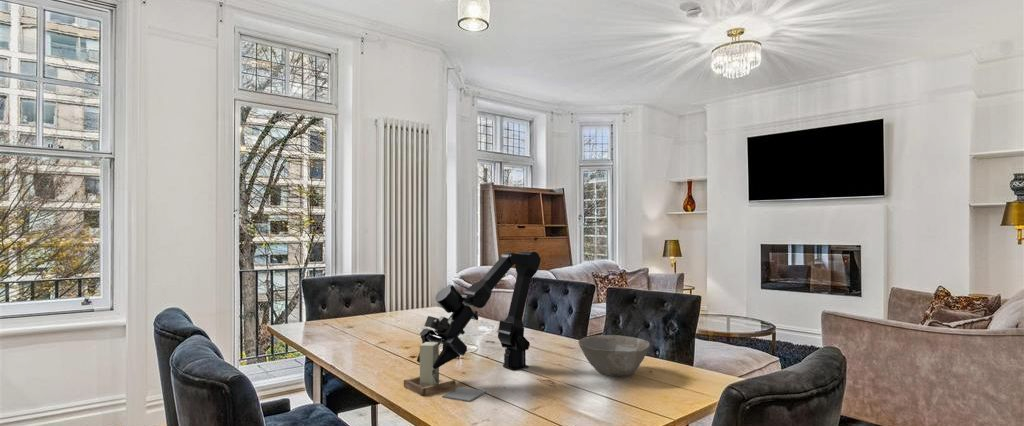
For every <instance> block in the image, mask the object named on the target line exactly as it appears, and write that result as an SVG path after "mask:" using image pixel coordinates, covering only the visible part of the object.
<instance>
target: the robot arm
mask: <svg viewBox="0 0 1024 426" xmlns="http://www.w3.org/2000/svg"><path fill="white" fill-rule="evenodd" d="M541 260H542V259H541V256H540V254H539V253H538V252H536V251H529V250H523V251H522V250H521V251H519V252H517V253H515V252H507V251H506V252H504V253H502V254H501V256H500V258H499V259H498V260H497V261H496V262H495V263H494V264H493V266H492V267H491V268H490V269H489V270H488V271H487V272H486V274H485V275H484V276H483V277H482V278H481V279H479V281H477V282H475V283H473V284H472V285H470V286H469V287H468V288H467V289H465V290H464V292H461V293H460V292H459V291H458V290H457V288H456V287H455V286H454V285H453V284H448V285H447V286H446V287H444V288H442V289H441V290H440V291H437V293H436V295H435V298H434V300H435V301H436V303H437V304H438V305H440V307H441V308H442V309H443V310H444V311H445V312H446V313H447V314H450V313H451V315H449V317H445V316H440V317H439V318H438V317H434V316H432V315H431V316H430V315H427V318H426V321H425V322H424V327H426V328H423V329H421V330H422V331H420V332H419V335H420V339H421V342H422V343H421V345H422V344H423V343H425V342H438V343H439V346H440V345H442V349H441V351H440V352H439V356H438V358H437V360H436V361H435V363H434V365H433V368H434V369H437V368H438V367H439V368H440V367H442V366H443V365H445V364H447V363H448V362H451V361H453V360H455V359H457V358H460V357H461V356H463V357H464V356H465V354H466V353H467V352H468V346H467V345H466V344H465V342H463V341H462V339H461V338H460V337H459V336H460V335H464V334H465V333H466V331H465V328H466V327H467V325H468V324H469V323H470V321H471V320H473V321H474V320H475V321H479V316H478V315H479V314H478V311H477V310H473V309H472V308H476V309H482V308H484V307H485V306H486V305H487V304H488V301H490V298H491V296H492V292H493V289H494V288H495V287H496V286H497V284H498V283H499V282H500V281H501V280H502V279H503V278H504V277H505V275H506V274H507V273H508V272H509V270H510V269H512V267H513V266H514V265H515V266H514V267H515V273H516V278H515V284H514V286H513V287H514V288H513V293H512V296H511V301H510V305H509V309H508V314H507V317H506V318H505V319H504V320H501V319H500V320H499V324H498V329H497V330H496V333H497V339H498V340H499V342H500V344H501V347H502V348H504V354H503V360H504V361H503V364H502V367H504V368H506V369H509V370H512V371H516V370H517V371H518V370H521V369H526V368H529V365H528V364H526V361H527V359H526V354H527V353H526V351H528V350H530V344H531V343H530V342H529V340H528V339H527V338H526V337H525V336H524V334H525V326H524V322H523V318H524V317H523V316H524V312H525V308H526V304H527V303H526V302H527V299H528V296H529V290H530V286H531V281H532V278H533V277H534V276H535V274H537V273H538V269H539V267H540V265H541ZM471 307H472V308H471ZM430 328H431V329H430ZM433 329H434V330H433ZM416 362H417V363H419V364H420V352H419V353H418V357H417V359H416Z"/></svg>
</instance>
